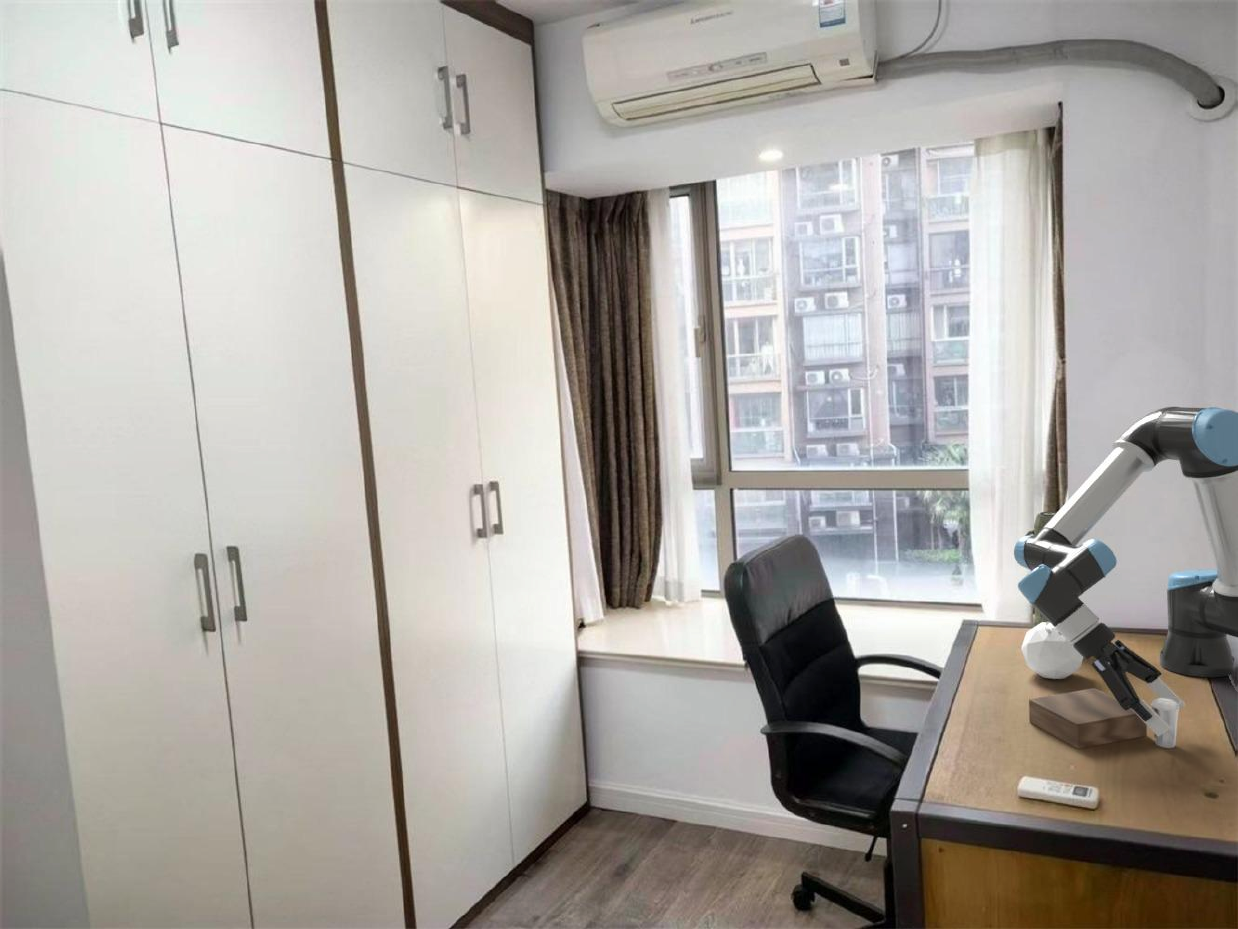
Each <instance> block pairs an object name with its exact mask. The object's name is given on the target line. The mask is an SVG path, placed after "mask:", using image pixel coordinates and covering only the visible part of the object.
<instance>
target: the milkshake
mask: <svg viewBox="0 0 1238 929" xmlns="http://www.w3.org/2000/svg"><path fill="white" fill-rule="evenodd" d="M1181 701H1183V700H1182V699H1181V700H1180V702H1179V704H1177V703H1176V702H1175V701H1173V700H1171V699H1166V698H1159V697H1157V698H1155V699H1153V700H1152V701H1151V703H1150V704H1151V708H1152V709H1153V710H1154V711H1155V712H1156V713H1157V714H1158V715H1159V716H1160V717H1161V718H1162V719H1163V720H1164V721H1165V722H1166V723H1167V724H1168V725H1169V726H1170V728H1171V729H1170V730H1168V731H1167V732H1165V733H1163V734H1162V735H1160V736H1159V737H1158V736H1157V735H1156V734H1155V733H1154V732H1153V733H1154V741H1155V742H1154V743H1155V745H1156V746H1157V747H1160V748H1163V749H1173V748H1175V747H1176V742H1177V741H1176V740H1177V728H1178V727H1177V726H1178V718H1179V710H1180V709H1179V705H1180V703H1181Z"/></svg>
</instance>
